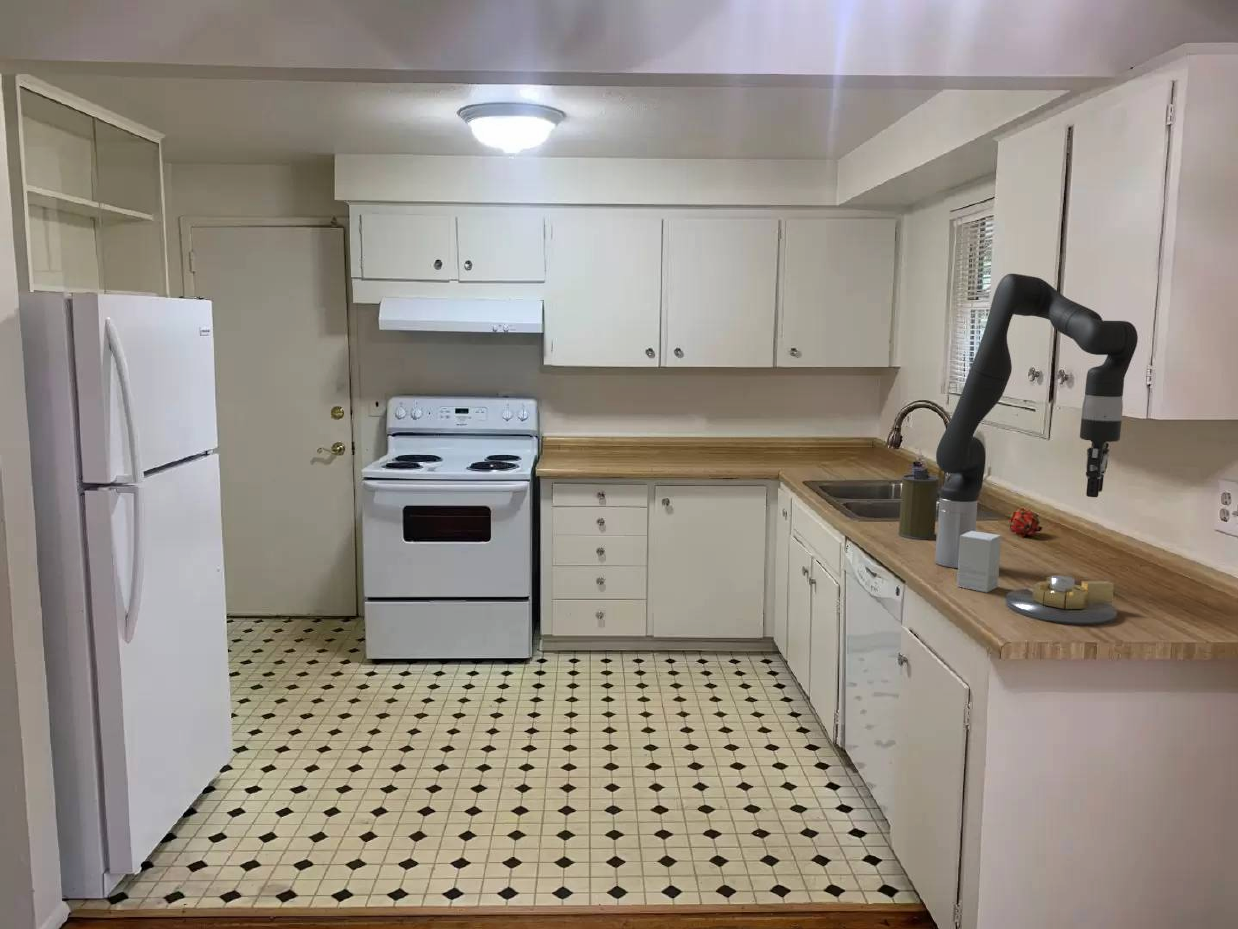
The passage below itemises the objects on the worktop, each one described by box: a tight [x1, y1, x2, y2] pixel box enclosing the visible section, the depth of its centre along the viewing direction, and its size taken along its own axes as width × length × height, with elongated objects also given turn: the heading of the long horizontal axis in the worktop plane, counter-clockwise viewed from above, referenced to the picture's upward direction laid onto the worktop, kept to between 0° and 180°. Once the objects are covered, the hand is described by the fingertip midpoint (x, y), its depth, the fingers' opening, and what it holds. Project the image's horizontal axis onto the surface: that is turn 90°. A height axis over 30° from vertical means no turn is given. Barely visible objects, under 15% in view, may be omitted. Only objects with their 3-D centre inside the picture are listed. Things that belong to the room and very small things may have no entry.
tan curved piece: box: [1032, 576, 1115, 609], centre depth 205 cm, size 16×11×4 cm, turn 95°
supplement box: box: [956, 530, 1002, 593], centre depth 221 cm, size 7×7×13 cm
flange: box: [1005, 575, 1118, 626], centre depth 204 cm, size 22×22×7 cm
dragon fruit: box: [1008, 508, 1043, 538], centre depth 278 cm, size 8×8×12 cm
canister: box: [897, 467, 940, 540], centre depth 274 cm, size 11×10×20 cm
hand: (1094, 494), depth 198 cm, fingers open, 8 cm apart
